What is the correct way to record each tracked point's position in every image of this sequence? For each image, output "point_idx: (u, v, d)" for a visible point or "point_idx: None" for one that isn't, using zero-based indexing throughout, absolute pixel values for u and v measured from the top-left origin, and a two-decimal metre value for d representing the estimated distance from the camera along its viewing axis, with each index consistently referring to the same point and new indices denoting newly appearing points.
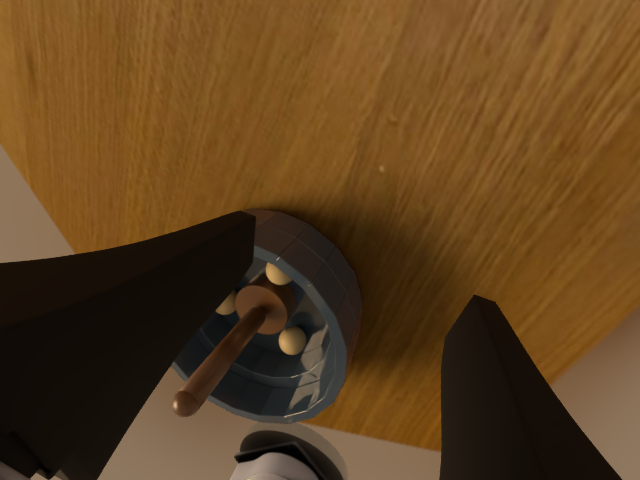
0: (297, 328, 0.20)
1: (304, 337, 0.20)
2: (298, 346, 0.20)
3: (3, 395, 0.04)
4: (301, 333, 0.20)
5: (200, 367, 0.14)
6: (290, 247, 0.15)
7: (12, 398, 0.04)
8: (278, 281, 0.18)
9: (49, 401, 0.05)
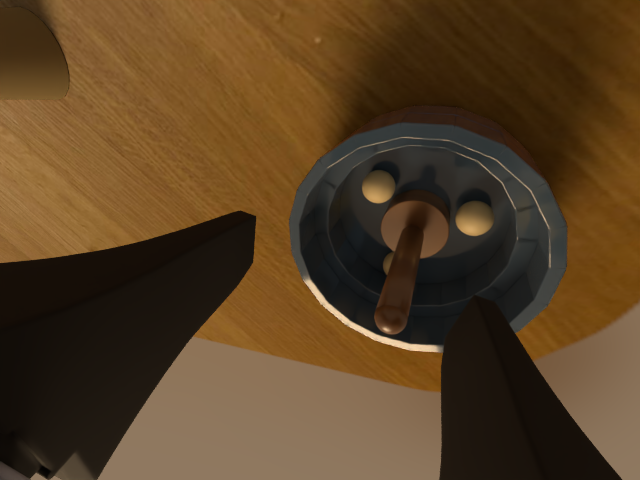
0: (462, 205, 0.16)
1: (476, 201, 0.16)
2: (479, 211, 0.15)
3: (3, 395, 0.04)
4: (469, 202, 0.16)
5: (382, 292, 0.13)
6: (329, 150, 0.15)
7: (12, 398, 0.04)
8: (382, 191, 0.16)
9: (49, 401, 0.05)
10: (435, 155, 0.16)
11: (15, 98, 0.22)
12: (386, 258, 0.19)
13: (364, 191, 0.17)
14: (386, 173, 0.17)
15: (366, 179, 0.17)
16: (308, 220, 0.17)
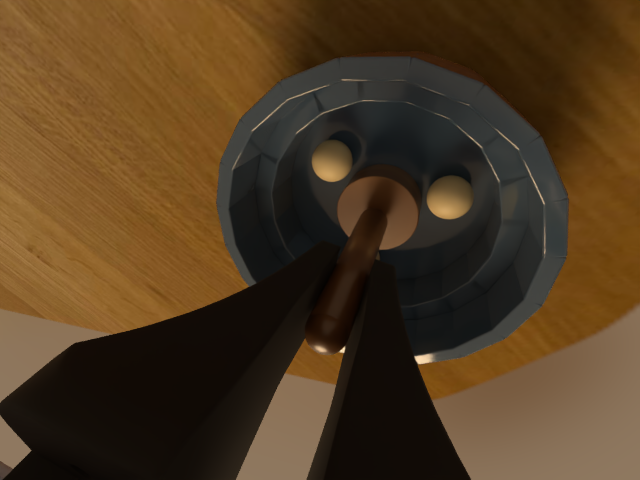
0: (434, 182, 0.13)
1: (451, 176, 0.12)
2: (454, 188, 0.12)
3: None
4: (442, 177, 0.13)
5: None
6: None
7: None
8: (334, 166, 0.13)
9: None
10: (400, 118, 0.13)
11: None
12: None
13: (314, 166, 0.13)
14: (340, 143, 0.13)
15: (315, 151, 0.13)
16: (245, 204, 0.14)
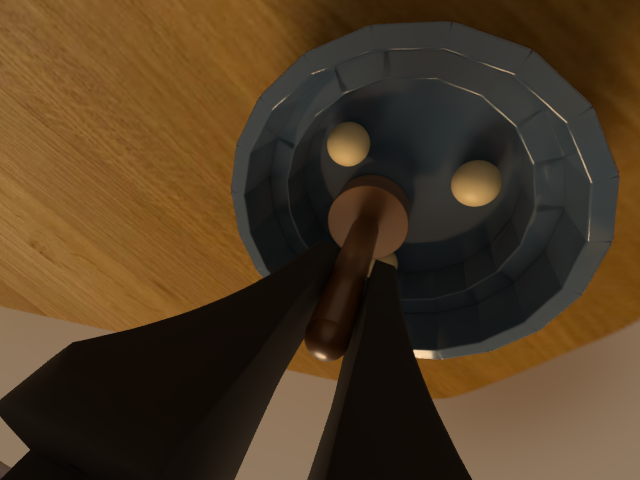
0: (460, 167, 0.12)
1: (478, 160, 0.12)
2: (483, 172, 0.11)
3: None
4: (468, 162, 0.12)
5: None
6: None
7: None
8: (349, 147, 0.12)
9: None
10: (423, 100, 0.12)
11: None
12: None
13: (328, 148, 0.13)
14: (357, 124, 0.13)
15: (331, 132, 0.13)
16: (260, 191, 0.13)
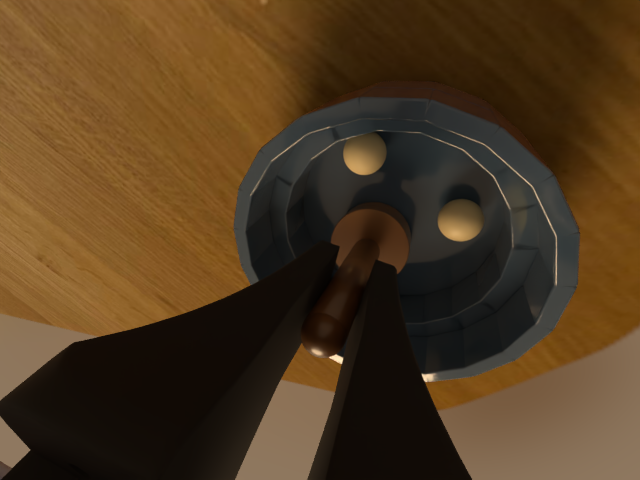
0: None
1: (462, 200, 0.13)
2: (466, 212, 0.12)
3: None
4: (453, 201, 0.13)
5: None
6: None
7: None
8: (385, 147, 0.13)
9: None
10: (411, 143, 0.13)
11: None
12: None
13: None
14: None
15: None
16: (260, 225, 0.14)
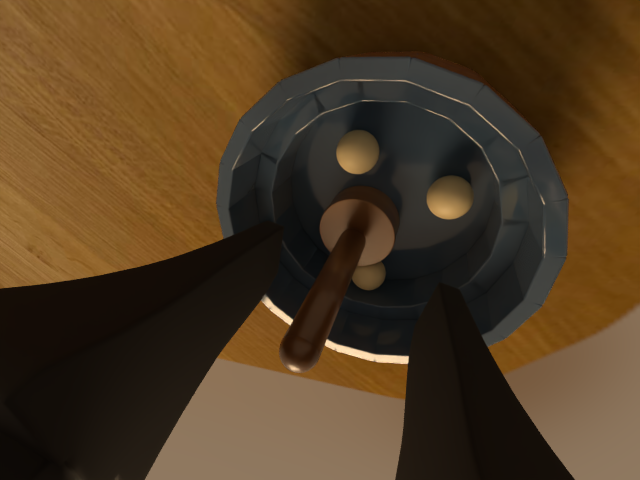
0: (434, 182, 0.13)
1: (451, 176, 0.12)
2: (454, 188, 0.12)
3: (60, 427, 0.04)
4: (442, 177, 0.13)
5: None
6: None
7: (67, 429, 0.04)
8: (377, 146, 0.13)
9: (98, 428, 0.05)
10: (399, 118, 0.13)
11: None
12: (355, 273, 0.16)
13: (358, 148, 0.12)
14: None
15: (353, 134, 0.12)
16: (245, 204, 0.14)
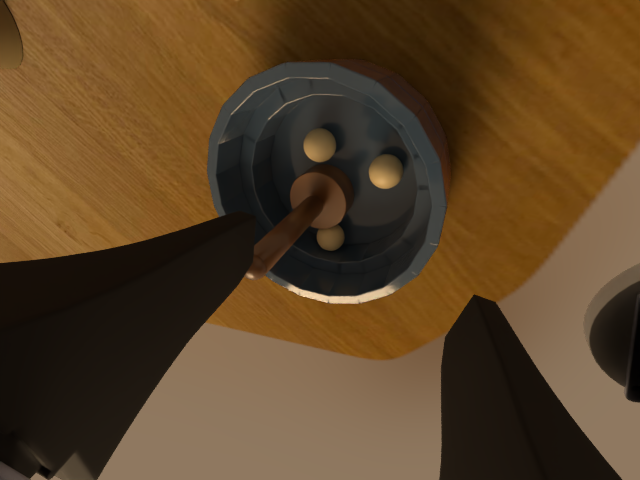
0: None
1: (386, 154, 0.16)
2: (386, 162, 0.16)
3: (4, 395, 0.04)
4: None
5: None
6: None
7: (13, 398, 0.04)
8: (333, 141, 0.17)
9: (49, 401, 0.05)
10: (349, 110, 0.17)
11: None
12: (319, 235, 0.20)
13: (319, 151, 0.17)
14: (320, 128, 0.17)
15: (314, 139, 0.16)
16: (230, 174, 0.18)
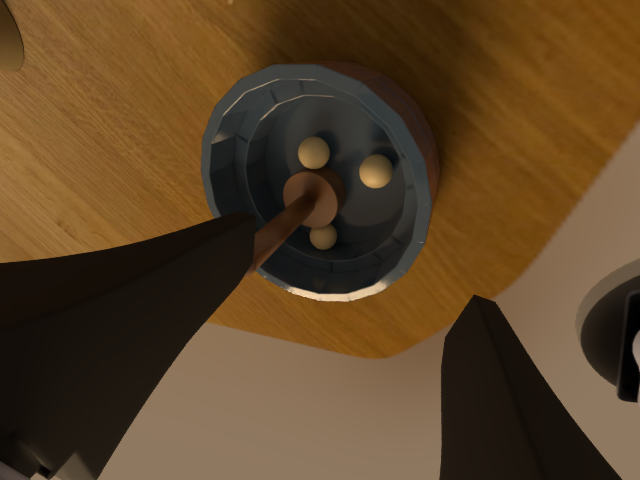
0: None
1: (376, 154, 0.16)
2: (375, 162, 0.16)
3: (3, 395, 0.04)
4: None
5: None
6: None
7: (12, 398, 0.04)
8: (327, 149, 0.17)
9: (49, 401, 0.05)
10: (340, 111, 0.17)
11: None
12: (311, 234, 0.20)
13: (316, 164, 0.17)
14: (311, 137, 0.17)
15: (309, 155, 0.17)
16: (224, 174, 0.18)
